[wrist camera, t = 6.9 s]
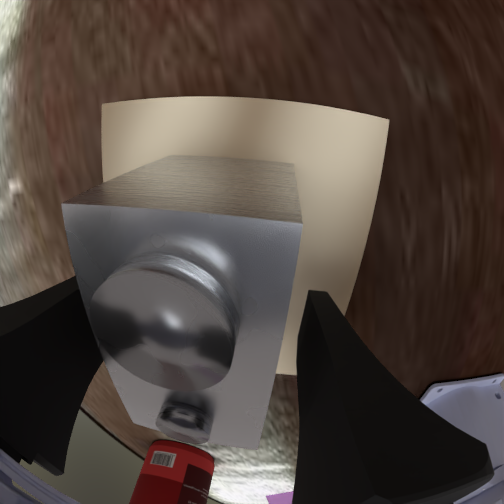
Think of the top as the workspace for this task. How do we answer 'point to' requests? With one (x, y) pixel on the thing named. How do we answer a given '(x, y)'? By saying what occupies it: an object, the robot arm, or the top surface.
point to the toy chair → (280, 498)
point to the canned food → (174, 475)
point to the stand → (279, 150)
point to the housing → (190, 289)
